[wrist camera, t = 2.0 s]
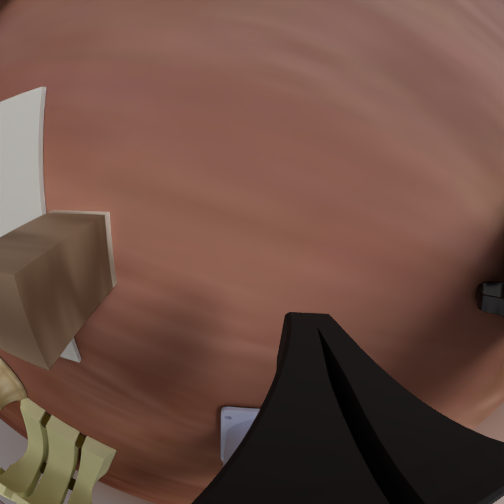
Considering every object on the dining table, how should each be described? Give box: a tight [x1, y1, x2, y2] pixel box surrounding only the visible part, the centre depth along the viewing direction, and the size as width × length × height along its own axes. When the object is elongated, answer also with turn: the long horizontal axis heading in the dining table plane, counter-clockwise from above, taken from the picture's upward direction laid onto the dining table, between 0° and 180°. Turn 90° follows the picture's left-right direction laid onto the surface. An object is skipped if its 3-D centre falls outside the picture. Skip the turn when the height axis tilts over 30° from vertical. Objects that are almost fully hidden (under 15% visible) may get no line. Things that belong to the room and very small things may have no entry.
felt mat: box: [0, 87, 81, 363], centre depth 13 cm, size 18×10×1 cm, turn 175°
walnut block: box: [0, 210, 117, 371], centre depth 10 cm, size 4×4×7 cm
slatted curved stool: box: [0, 398, 117, 504], centre depth 16 cm, size 30×16×18 cm, turn 61°
